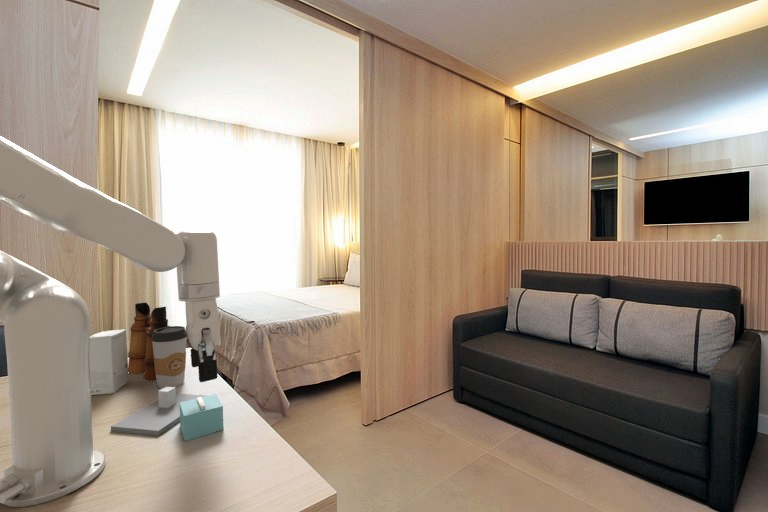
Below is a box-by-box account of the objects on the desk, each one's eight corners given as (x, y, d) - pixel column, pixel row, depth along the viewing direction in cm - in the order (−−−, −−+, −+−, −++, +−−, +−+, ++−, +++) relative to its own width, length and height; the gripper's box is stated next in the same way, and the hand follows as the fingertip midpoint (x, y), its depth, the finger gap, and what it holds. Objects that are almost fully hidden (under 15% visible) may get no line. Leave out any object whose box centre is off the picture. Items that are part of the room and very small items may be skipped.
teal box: (223, 429, 73) (222, 403, 72) (184, 441, 69) (183, 413, 68) (216, 416, 78) (215, 391, 78) (180, 425, 74) (179, 399, 74)
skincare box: (114, 394, 90) (112, 336, 89) (86, 396, 88) (84, 337, 87) (129, 381, 98) (127, 328, 97) (104, 383, 96) (102, 329, 96)
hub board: (158, 435, 71) (158, 412, 70) (110, 431, 72) (110, 408, 72) (209, 399, 86) (209, 380, 86) (169, 396, 88) (169, 377, 88)
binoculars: (122, 370, 106) (120, 304, 105) (152, 362, 113) (150, 300, 112) (152, 383, 96) (150, 310, 95) (183, 374, 103) (181, 306, 102)
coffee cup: (160, 393, 90) (158, 335, 89) (147, 385, 95) (145, 330, 94) (194, 382, 97) (192, 328, 96) (180, 375, 102) (179, 324, 101)
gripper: (228, 294, 68) (233, 381, 69) (211, 284, 81) (215, 357, 83) (184, 299, 63) (189, 392, 64) (173, 288, 77) (178, 364, 78)
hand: (204, 372), depth 73 cm, fingers open, 9 cm apart
